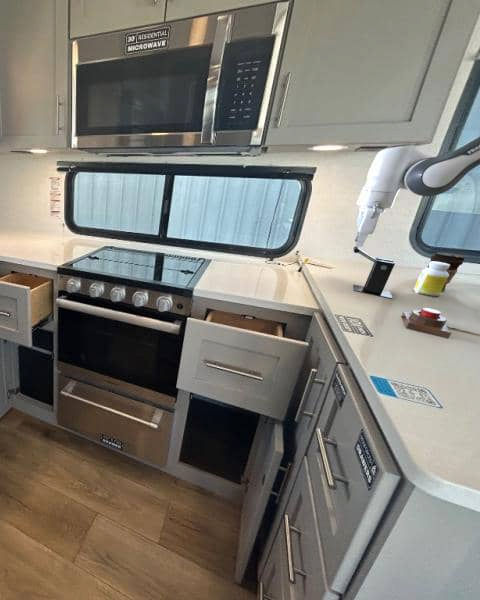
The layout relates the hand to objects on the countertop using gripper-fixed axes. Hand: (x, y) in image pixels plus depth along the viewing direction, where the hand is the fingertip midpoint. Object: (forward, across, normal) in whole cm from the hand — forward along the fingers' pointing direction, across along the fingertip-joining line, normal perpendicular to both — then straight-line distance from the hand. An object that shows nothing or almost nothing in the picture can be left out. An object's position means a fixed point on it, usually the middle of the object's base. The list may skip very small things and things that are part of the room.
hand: (358, 243), depth 109 cm
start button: (+12, -23, -18) cm, 32 cm away
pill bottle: (+16, +13, -23) cm, 31 cm away
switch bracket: (+16, 0, -8) cm, 18 cm away
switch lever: (+5, 0, -4) cm, 6 cm away
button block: (+16, -23, -18) cm, 33 cm away
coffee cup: (+16, +26, -27) cm, 41 cm away
